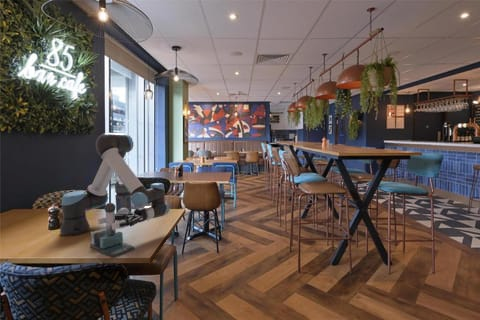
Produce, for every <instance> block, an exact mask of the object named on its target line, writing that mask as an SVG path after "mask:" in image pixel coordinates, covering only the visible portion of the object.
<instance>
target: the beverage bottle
mask: <svg viewBox="0 0 480 320" xmlns="http://www.w3.org/2000/svg"><path fill="white" fill-rule="evenodd" d="M114 192H115V193H116V194H115V207H116V208H115V214H117V213H118V211H119V210H120V209H121V208H127V209H128V210H129V213H132V201H131V196H132V195H131V193H130V192H129V191H128V189H127V188H126V187H125V185H124V184H123V183H120V181H116V182H115V185H114Z"/></svg>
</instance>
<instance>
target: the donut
mask: <svg viewBox="0 0 480 320" xmlns="http://www.w3.org/2000/svg"><path fill="white" fill-rule="evenodd" d="M127 212H129V210H128V209H127V208H121V209H120V210H119V211H118V213H117V214H120V213H127ZM116 221H117V222H121V221H124V220H116ZM125 221H126V220H125Z"/></svg>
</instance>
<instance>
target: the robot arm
mask: <svg viewBox="0 0 480 320" xmlns="http://www.w3.org/2000/svg"><path fill="white" fill-rule="evenodd" d="M95 148H96V152H97V154H98V155H99V157H100V158H101V159H102V162H101V164H100V166H99V169H98V170H97V172H96V175H95V177H94V179H93V181H92V184H89V185H88V186H87V188H86V190H85V191H84V190H74V191H71V192H67V193H65V194H63V195H62V196H61V209H62V212H61V213H62V223H61V226H60V230H59V234H60V236H64V237H70V236H71V237H72V236H79V235H83V234H84V233H88V232H90V230H91V225H90V224H89V222H88V221H89V220H88V218H87V213H86V212H88V211H92V210H95V209H98V208H101V207H104V206H105V205H106V204H108V200H109V193H108V190H107V189H108V187H109V183H111V182H110V181H111V180H112V178H113V176H114V174H115V175H116V176H117V177H118V179H119V180H120V182H121V184H124V185H125V187H126V188H127V189H128V191H129V192H130V194H131V205H133V206H135V207H139V208H135V209H134V211H133V212H131V213H129V212H127V213H120V214H116V213H115V221H117V220H124V221H121V222H118V221H117V222H115V223H113V224H112V230H114V229H116V230H118V229H120V228H125V227H133V226H135V225H136V224H138V223H142V222H145V221H148V222H149V221H150V220H152V219H157V218H160V217H161V218H162V217H163V216H166V215H168V214H169V212H170V206H169V204H168V203H167V202H166V201H165V199H166V197H165V191H166V190H165V184H164V183H161V182H156V183H151V184H150V188H148V189H147V188H146V187H145V186H144V185H143V183H142V182H141V181H140V179H139V178H138V177H137V176H136V174H135V173H134V172H133V170H132V169H131V168H130V166H129V165H128V164H127V161H125V160H124V158H125V157H126V154H127V153H129V152H131V151H132V150H133V148H134V141H133V138H132V137H131V135H129V134H127V133H123V132H104V133H102V134H101V135H99V136H98V137H97V138H96V141H95ZM148 204H151V205H148ZM146 205H147V206H146ZM125 220H126V221H125ZM103 224H106V216H104V217H101V218H97V225H103Z"/></svg>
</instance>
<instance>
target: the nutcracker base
mask: <svg viewBox="0 0 480 320" xmlns="http://www.w3.org/2000/svg"><path fill="white" fill-rule="evenodd" d="M106 234H107V229H106V228H102V229H98V230H94V231H90V239H91V240H90V241H91V242H90V243H89V247H90V248H92V249H93V250H96V251H97V252H100V253H102V254H104V255H106V256H108V257H110V258H112V259H113V258H116V257H119V256H121V255H125V254H127V253H130V252H132V251H135V245H134V246H133V245H132V244H129V243H125V242H124V241H123V242H122V243H119V244H116V245H113V246H110V247H107V248H104V249H103V248H100V237H103V236H104V235H106Z"/></svg>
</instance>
